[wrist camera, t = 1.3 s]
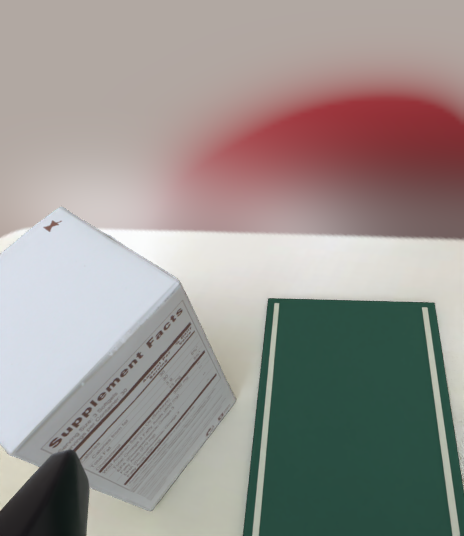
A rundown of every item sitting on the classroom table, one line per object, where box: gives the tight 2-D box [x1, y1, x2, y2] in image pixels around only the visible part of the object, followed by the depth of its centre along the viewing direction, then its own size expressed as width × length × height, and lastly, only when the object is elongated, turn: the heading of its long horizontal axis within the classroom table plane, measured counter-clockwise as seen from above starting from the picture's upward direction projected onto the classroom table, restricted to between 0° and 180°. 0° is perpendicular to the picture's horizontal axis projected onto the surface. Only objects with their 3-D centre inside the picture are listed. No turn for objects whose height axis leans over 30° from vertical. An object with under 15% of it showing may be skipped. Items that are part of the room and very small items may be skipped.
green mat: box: [243, 298, 464, 536], centre depth 21 cm, size 20×10×1 cm, turn 172°
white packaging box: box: [0, 207, 236, 511], centre depth 20 cm, size 7×7×13 cm
